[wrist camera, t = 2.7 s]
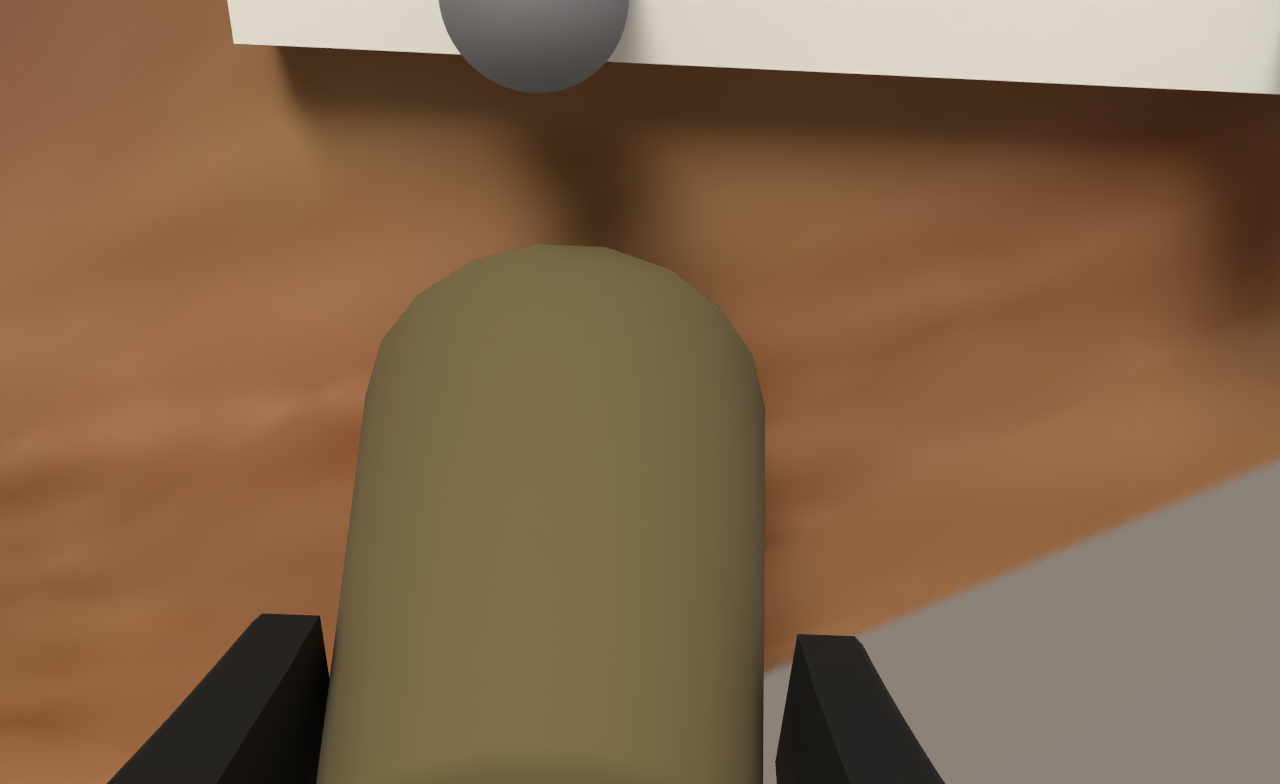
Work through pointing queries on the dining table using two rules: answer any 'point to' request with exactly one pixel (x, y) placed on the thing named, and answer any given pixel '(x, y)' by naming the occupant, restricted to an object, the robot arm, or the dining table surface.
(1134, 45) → the peg board
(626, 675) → the olive rounded cylinder
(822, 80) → the dining table surface
